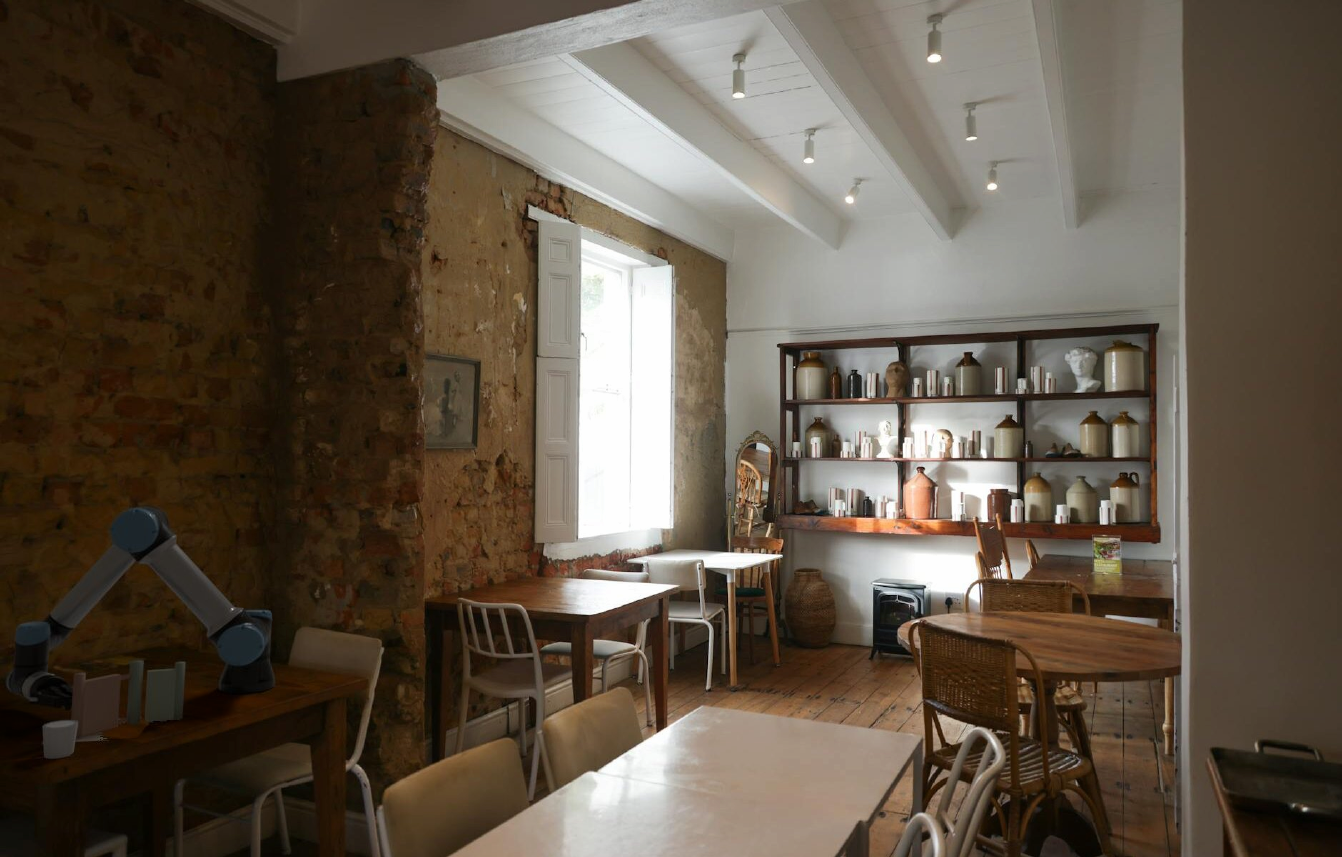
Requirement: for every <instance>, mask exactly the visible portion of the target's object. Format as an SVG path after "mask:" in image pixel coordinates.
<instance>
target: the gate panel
mask: <svg viewBox="0 0 1342 857" xmlns="http://www.w3.org/2000/svg"><path fill="white" fill-rule="evenodd" d="M86 676H87V674H86V672H76V673H74V674H73V680H72V681H73V684H72V686H73V698H72V708H71V714H70V715H71V718H70V720H75V721H78V728H77V734H76V738H78V737H81V736H84V735H88V734H92V733H96V732H100V731H104V730H108V729H112V728H115V727H118V724H121V723H125V722H128V718H127V716H125V717H122V718H119V715H120V700H121V698H120V697H121V683H122V682H121V681H124V680H127V679H128V680H129V678H130V674H129V673H126V674H122V675H121V674H120V673H119V674H118V673H113V674H109V675H104V676H99V677H94V678H89V679H86Z"/></svg>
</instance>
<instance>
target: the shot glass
mask: <svg viewBox="0 0 1342 857" xmlns="http://www.w3.org/2000/svg"><path fill="white" fill-rule="evenodd" d="M77 728H78V721H75V720H71V719H62V720H55V721H50V722H47V723H44V724H43V725H42V738H43V739H42V743H43V744H42V745H43V757H44V758H45V759H51V760H53V759H62V758H66V757H69V756H71V754H72V755H73V754H74V751H75V746H76V742H75V740H76V734H77Z"/></svg>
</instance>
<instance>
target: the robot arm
mask: <svg viewBox="0 0 1342 857" xmlns="http://www.w3.org/2000/svg"><path fill="white" fill-rule="evenodd" d="M110 525H111V526H110V528H109V530H110V531H109V532H110V533H109V535H110V539H111V541H112V543H113V544H112V545H111V546H110V547H109V548H108V549H107V550H106V551H105V552H104V553H103V555H101V557H100V558H99V559H98V560H97V561H96V562H95V563H94V565H93V566H92V567H90V569H89V570H88V571H87V572H86V573H85V574H84V575H83V576H82V577H81V578H80V580H78V582H77V583H76V584H75V585H74V586H73V587H72V589H71V590H70V591H69V592H67V594H66V595H65V596H64V597H63V598H62V599H61V601H59V603H58V604H57V605H56V606H55V607H54V608H53V609H52V610H51V612H50V613H49V614H47V616H45V618H44V619H43V620H42V621H30V622H28V621H27V622H23V623H20V624H19V625H17V627H16V630H15V635H14V649H13V650H14V652H13V653H14V654H13V668H12V670H11V671H10V672H9V673H8V675H7V677H6V679H5V684H6V687H7V689H8V690H9V691H10V692H11V693H12V694H13V695H15V696H18V697H23V698H25V699H27V700H28V701H29V704H30V705H37V706H42V707H47V708H48V707H49V708H53V709H61V708H62V707H64V710H65V711H72V698H73V685H69V684H68V682H67V681H66V680H65V679H64V678H63V677H61V676H57V675H55V674H53V673H50V672H48V668H49V666H48V665H49V653H50V651H52V650H53V649H54V648H57V647H59V646H61V645H62V644H63V643H64V642H65V641H66V640H67V638H68V637H69V635H70V633H72V631H74V629H75V628H76V627H77V626H78V624H79V623H80V622H81V621H82V620H83V619H84V618H85V617H86V616H87V615H88V613H89V612H90V611H92V609H93V608H94V607H95V605H97V603H99V602H100V600H101V599H103V597H104V596H105V595H106V593H108V591H110V590H111V589H112V587H113V586H114V585H115V584H116V583H117V582H118V581H119V580H120V579H121V578H122V576H124V574H125V573H126V572H127V571H128V569H130V568H131V567H132V565H133V564H134V563H135V562H136V563H137V564H144V565H148V566H149V567H150V568H151V569H152V571H154V572H155V573H156V575H157V576H158V577H159V578H160V579H161V580H162V581H163V582H164V583H165V585H167V586H168V587H169V588H170V590H171V591H172V592H174V594H175V595H176V596H177V597H178V598H179V599H180V600H181V602H182V603H183V604H185V606H186V607H187V608H188V609H189V610H190V611H191V613H193V614H194V615H195V617H197V619H198V620H199V621H200V622H201V623H202V624H203V625H204V627H206V629H207V633H206V637H207V638H208V640H210V642H212V644H213V645H214V646H215V647H216V651H217V653H218V656H219V657H220V659H221V660H222V661H223V662H224V663H225V665H224V668H223V671H222V673H221V676H220V679H219V682H218V690H219V691H220V692H223V693H227V694H240V695H241V694H250V693H251V694H253V693H259V692H263V691H267V690H270V689H272V688H275V685H276V684H275V682H276V681H275V680H276V678H275V674H274V670H273V667H272V663H271V660H270V659H271V658H270V657H271V639H272V637H271V635H272V622H273V614H272V611H270V610H268V609H247V610H246V609H245V608H244V607H236V606H234V605H233V604H232V603H231V601H229V600H228V599H227V597H226V596H225V595H224V594H223V593H222V592H221V591H220V590H219V589H218V587H216V586H215V584H214V583H213V582H212V581H211V580H210V578H208V577H207V576H206V574H204V572H202V570H201V569H200V568H199V567H198V566H197V565H196V564H195V563H194V561H193V560H191V558H190V557H189V556H188V555H187V554H186V553H185V552H184V550H182V548H180V546H179V545H178V544H177V537H178V535H177V534H176V533H175V532H174V531H173V530H172V528H170V520H169V517H168V515H167V513H166V512H165V511H164V510H162V509H161V508H160V507H157V506H154V505H148V504H147V505H146V504H145V505H140V506H137V507H136V506H135V507H130V508H127V509H125V510H124V511H122V512H120V513H119V514H118V515H117V516H116V517H114V519H113V521H112V523H111V524H110Z"/></svg>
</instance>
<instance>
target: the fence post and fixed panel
mask: <svg viewBox="0 0 1342 857" xmlns="http://www.w3.org/2000/svg"><path fill="white" fill-rule="evenodd" d="M144 661H145V660H142V659H141V660H140V659H139V660H132V661H129V672H128V674H130V678H129V679H128V692H127V693H128V694H127V706H126V707H127V711H126V718H128V722H127V724H138V723H140V718H141V715H142V698H143V697H142V696H143V694H142V693H143V682H144V679H143V677H144V665H145V662H144ZM146 672H147V673H146V688H145V706H144V710H145V711H144V717H145V722H151V723H154V722H153V721H160V722H168V721H167V720H171V721H172V720H173V719H176V720H177V719H182V720H183V711H184V698H185V697H184V695H185V692H184V691H185V677H186V676H185V675H186V661H177V662H174V668H163V669H162V668H161V669H151V670H150V669H148V670H147V671H146ZM145 722H144V723H145Z"/></svg>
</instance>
